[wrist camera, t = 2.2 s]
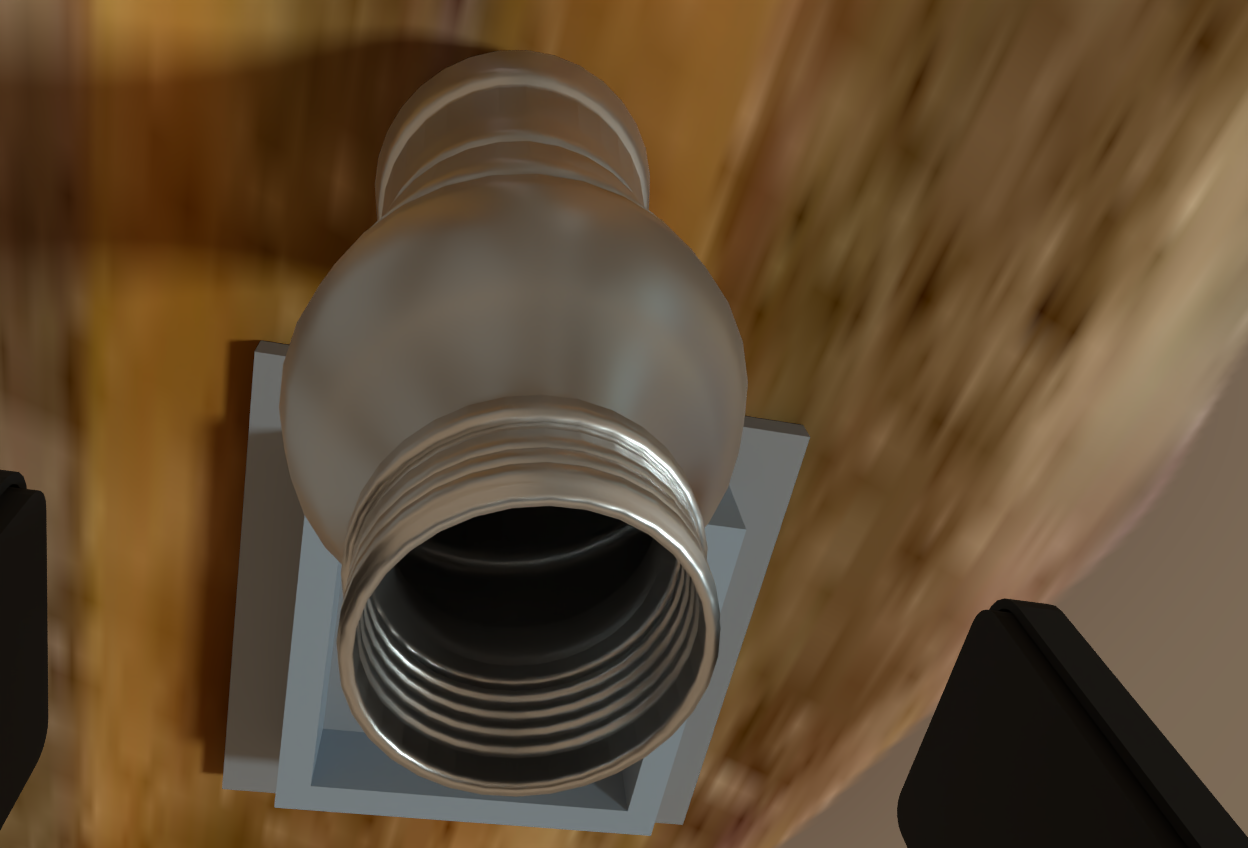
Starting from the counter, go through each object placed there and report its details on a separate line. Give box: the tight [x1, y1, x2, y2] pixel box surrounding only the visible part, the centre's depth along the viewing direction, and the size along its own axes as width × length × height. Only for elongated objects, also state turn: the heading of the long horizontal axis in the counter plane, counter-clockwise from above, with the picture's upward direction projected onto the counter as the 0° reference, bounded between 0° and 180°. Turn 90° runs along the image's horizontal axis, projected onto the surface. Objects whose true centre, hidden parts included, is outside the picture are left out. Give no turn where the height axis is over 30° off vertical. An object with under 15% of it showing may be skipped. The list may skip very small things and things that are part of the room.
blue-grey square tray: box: [222, 341, 810, 836], centre depth 32 cm, size 16×16×3 cm
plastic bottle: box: [279, 50, 748, 797], centre depth 19 cm, size 6×7×20 cm
